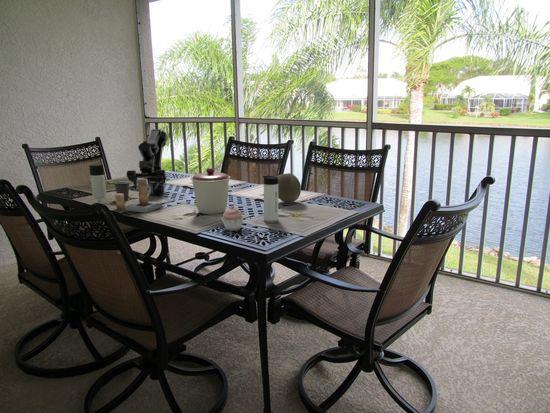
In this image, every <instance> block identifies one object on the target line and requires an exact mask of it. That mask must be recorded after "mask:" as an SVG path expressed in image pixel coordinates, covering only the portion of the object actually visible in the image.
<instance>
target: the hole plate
mask: <svg viewBox="0 0 550 413" xmlns="http://www.w3.org/2000/svg"><path fill="white" fill-rule="evenodd" d="M162 207H163V203H162V202H158V201H157V202H156V201H149V200H148V206H140V202H139V201H137V202H134V203H131V204H129V205H125V211H130V212H139V213H144V214H145V213H149V212H152V211H155V210H157V209H160V208H162Z"/></svg>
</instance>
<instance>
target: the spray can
mask: <svg viewBox="0 0 550 413" xmlns="http://www.w3.org/2000/svg"><path fill="white" fill-rule="evenodd" d="M88 167H89V176H90V184H91V185H90V186H91V193H92V200H93V201H92V202H93V204H94V203H103V204H102V205H106V204H108V197H107V196H108V195H107V188H106V178H105V176H106V175H105V168H104V164H103V163H93V164H89V166H88Z"/></svg>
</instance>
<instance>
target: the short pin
mask: <svg viewBox="0 0 550 413" xmlns="http://www.w3.org/2000/svg"><path fill="white" fill-rule="evenodd" d="M114 196H115V205H116V206H115V207H116V210H124V209H125V210H126V203H125V201H126V200H125V201H124V194H117V193H116V194H114Z"/></svg>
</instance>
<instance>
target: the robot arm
mask: <svg viewBox="0 0 550 413" xmlns="http://www.w3.org/2000/svg"><path fill="white" fill-rule="evenodd" d="M167 141H168V134H167V133H166V131H163V130H161V129H158V128H154V129H151V131H150V135H149V137H148V140H143V141H142V143H140V144H139V145H138V146H137V148H138V150H139V153H140V156H141V157H142V160H139V161H138V168H139V171H140V172H136V170H134V169H132V170H127V171H126V177H127V179H128V181H129V182H130V183H133V187H134V189H135V191H137V189H138V178H146V182H147V185H150V193H149V196H157V197H159V196H162V195H165V194H166V192H165V186H164V185H165V184H167V183H166V181H167V176H168V175H167V173H166V169H162V168H161V166H162V158H163V150H164V147H165V146H166V144H167Z"/></svg>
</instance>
